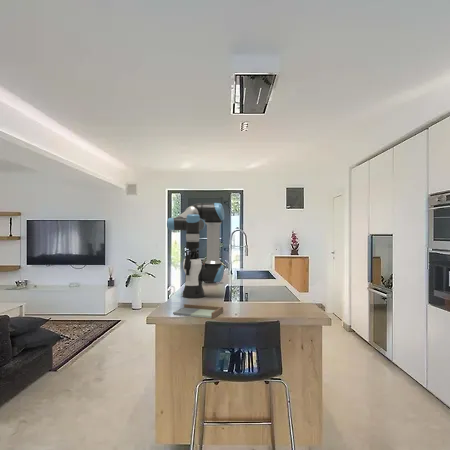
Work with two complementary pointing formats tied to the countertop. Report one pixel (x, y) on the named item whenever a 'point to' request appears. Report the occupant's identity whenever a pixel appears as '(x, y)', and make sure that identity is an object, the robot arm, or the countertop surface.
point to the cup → (193, 271)
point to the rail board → (199, 311)
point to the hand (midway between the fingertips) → (192, 280)
